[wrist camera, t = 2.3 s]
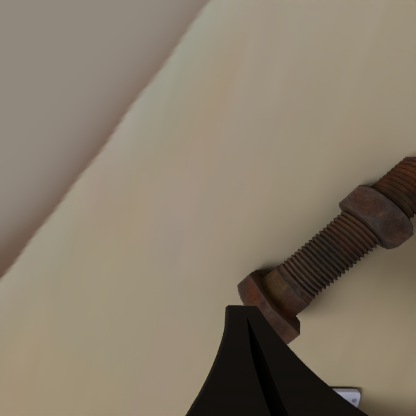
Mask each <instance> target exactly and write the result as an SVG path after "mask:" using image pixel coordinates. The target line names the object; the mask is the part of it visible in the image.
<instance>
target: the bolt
mask: <svg viewBox="0 0 416 416" xmlns="http://www.w3.org/2000/svg"><path fill="white" fill-rule="evenodd" d="M339 206H340V208H341V210H342V211H343V212H341V215H338V219H337V218H334V222H332V221H331V222H330V225H327V228H323V231H324V232H323V231H319V232H320V235H319V234H316V237H317V238H316V237H312V239H313V241H312V240H309V244H308V243H305V245H306V247H304V246H302V250H301V249H298V251H299V253H297V252H295V256H294V255H291V257H292V259H291V258H288V261H284V263H285V264H281V265H280V266H279V267H275V268H274V269H273V270H272V271H271V272H270V273H268V274H267V275H266V276H265V277H264V278H263V277H262V276H261V275H260V274H259V273H258V272H257V271H254V272H252V273H251V274H249V275H248V276H247V277H246V278H245V279H244V280H243V281H241V282H240V283H239V284H238V285H237V286H238V292H239V295H240V298H241V300H242V302H243V304H244V306H257V307H258V308H259V309H260V311H261V312H262V314H263V315H264V317H265V318H266V319H267V321H268V322H269V323H270V325H271V326H272V327H273V329H274V330H275V331H276V332H277V334H278V335H279V336H280V337H281V338H282V340H283V341H284V342H285V343H286V344H289V343H290V342H291V341H292V340H294V339H295V338H296V337H298V336H299V335H300V321H299V320H298V318H297V317H296V315H297V314H298V313H299V312H301V311H302V310H303V309H304V308H306V307H307V306H308V305H309V303H310V302H311V300H312V299H314V298H315V295H318V294H319V293H318V291H320V292H322V288H324V289H326V285H327V286H330V283H334V280H333V279H335V280H337V276H339V277H341V273H343V274H345V270H348V271H349V268H348V267H353V265H352V263H353V264H357V262H356V260H358V261H360V257H364V254H368V251H372V247H374V248H377V246H376V244H378V245H380V246H381V247H383V248H386V249H393V248H396V247H398V246H400V245H401V244H402V243H404V242H405V241H406V240H407V239H409V238H410V237H411V236H412V235H413V225H412V223H411V221H410V218H413V217H414V214H416V157H405V158H404V159H403V161H400V162H399V163H398V164H397V165H396V166H395V167H394V168H392V169H391V171H389V172H387V174H386V175H384V176H383V178H381V179H380V180H379V181H378V182H376V183H375V185H373V186H372V187H368V186H365V185H360V186H358V187H357V188H356V189H355V190H354V191H353V192H351V193H350V194H349V195H348V196H347V197H346V198H345V199H343V200H342V201H341V202H340V203H339ZM329 282H330V283H329Z"/></svg>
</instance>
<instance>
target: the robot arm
mask: <svg viewBox="0 0 416 416" xmlns="http://www.w3.org/2000/svg"><path fill="white" fill-rule="evenodd" d="M360 396H361V394H360V393H359V391H358V390H357V389H332V388H331V387H330V386H328V385H327V384H326V383H325V382H324V381H322V380H321V379H320V378H319V377H318V376H317V375H316V374H315V373H314V372H312V371H311V370H310V369H309V368H308V367H307V366H306V365H305V364H304V363H303V362H302V361H301V360H300V359H299V358H298V357H297V356H296V355H295V353H294V352H293V351H292V350H291V349H290V348H289V347H288V346H287V344H286V343H285V342H284V341H283V340H282V338H281V337H280V336H279V335H278V334H277V332H276V331H275V330H274V329H273V327H272V326H271V325H270V323H269V322H268V321H267V319H266V318H265V317H264V315H263V314H262V312H261V311H260V309H259V308H258V307H257V306H241V305H228V306H227V307H226V312H225V328H224V333H223V337H222V340H221V344H220V347H219V350H218V353H217V355H216V358H215V361H214V363H213V366H212V368H211V370H210V372H209V375H208V377H207V379H206V381H205V383H204V385H203V387H202V389H201V390H200V392H199V394H198V396H197V398H196V399H195V401H194V402H193V404H192V406H191V407H190V409H189V411H188V412H187V414H186V415H185V416H368V415H367V414H365V413H364V412H362V411H361V410H360V409H358V404H359V400H360Z"/></svg>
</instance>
